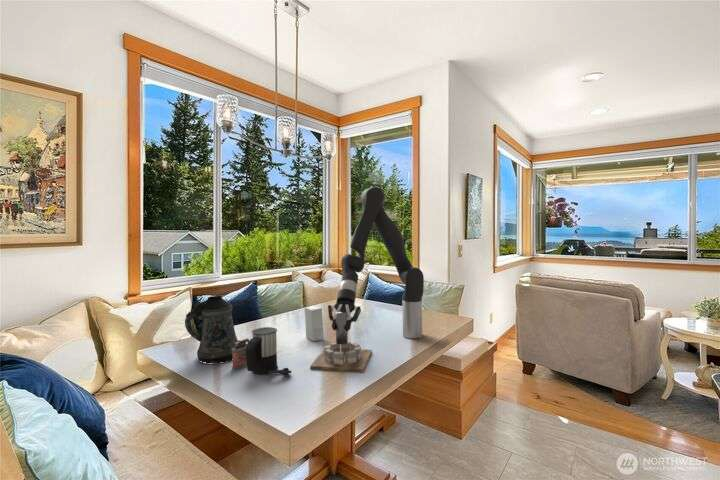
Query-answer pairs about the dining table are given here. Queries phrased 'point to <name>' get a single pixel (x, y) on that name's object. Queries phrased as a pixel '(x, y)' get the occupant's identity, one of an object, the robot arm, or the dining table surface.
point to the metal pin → (341, 327)
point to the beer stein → (213, 330)
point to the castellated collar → (342, 358)
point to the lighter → (239, 354)
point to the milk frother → (263, 352)
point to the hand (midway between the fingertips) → (340, 329)
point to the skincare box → (314, 323)
